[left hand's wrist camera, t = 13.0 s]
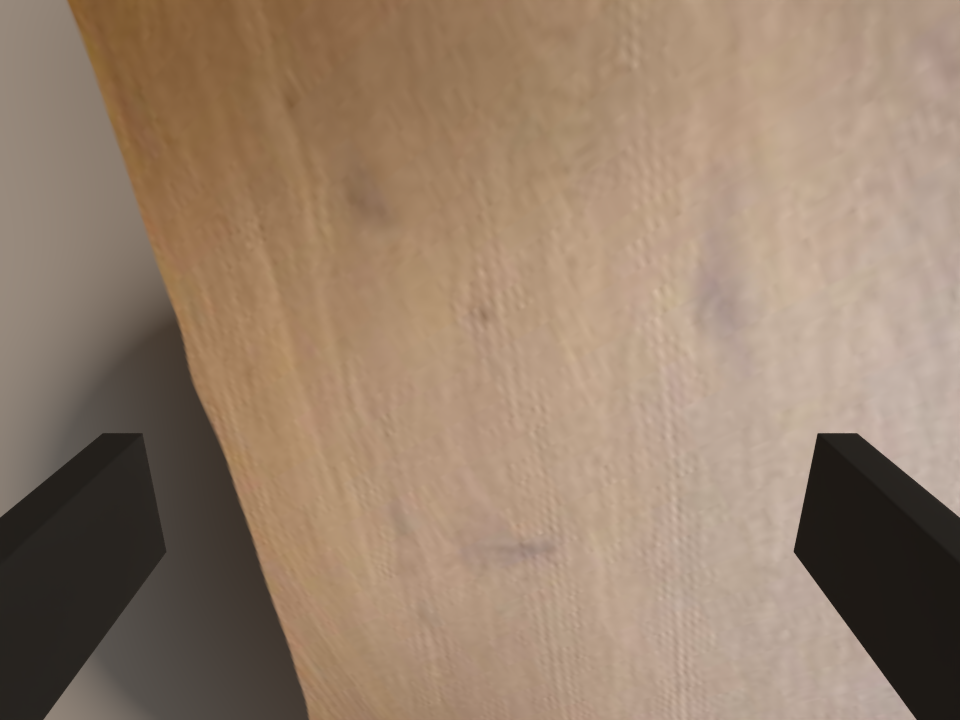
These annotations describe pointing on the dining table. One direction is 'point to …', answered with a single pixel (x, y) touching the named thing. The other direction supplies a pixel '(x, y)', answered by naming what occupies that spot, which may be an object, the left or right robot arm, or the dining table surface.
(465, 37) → the dining table surface
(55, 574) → the left robot arm
